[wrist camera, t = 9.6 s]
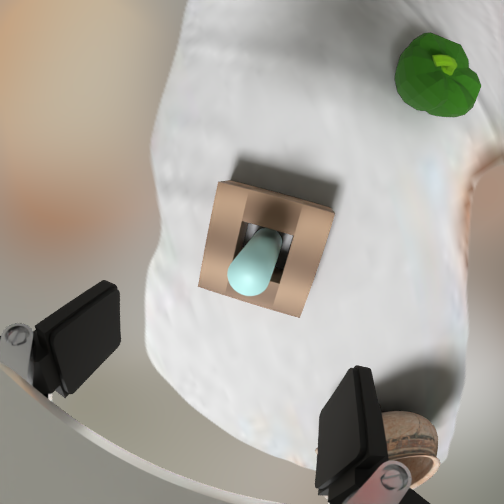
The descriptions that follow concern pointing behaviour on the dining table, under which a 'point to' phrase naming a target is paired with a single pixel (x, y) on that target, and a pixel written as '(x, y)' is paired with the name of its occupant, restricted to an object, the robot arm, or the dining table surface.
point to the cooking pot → (411, 444)
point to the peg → (255, 263)
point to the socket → (273, 217)
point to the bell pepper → (436, 77)
